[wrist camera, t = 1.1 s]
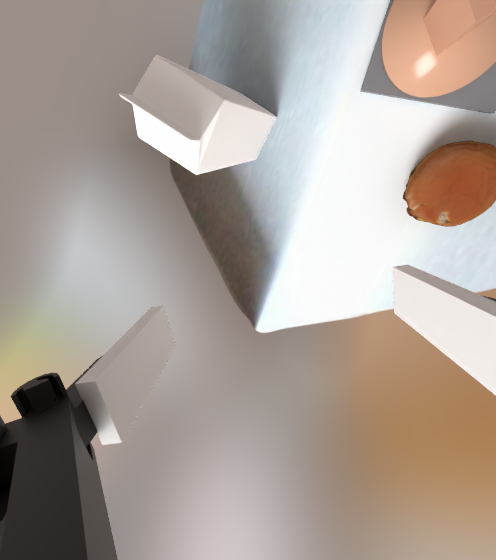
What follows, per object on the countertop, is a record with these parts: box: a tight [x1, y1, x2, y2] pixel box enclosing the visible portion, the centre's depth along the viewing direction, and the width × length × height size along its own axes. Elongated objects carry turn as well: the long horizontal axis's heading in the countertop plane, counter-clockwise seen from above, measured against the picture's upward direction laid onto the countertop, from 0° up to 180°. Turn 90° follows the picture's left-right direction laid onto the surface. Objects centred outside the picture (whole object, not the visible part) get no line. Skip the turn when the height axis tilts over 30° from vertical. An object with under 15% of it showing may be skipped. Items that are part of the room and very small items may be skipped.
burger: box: [403, 141, 496, 227], centre depth 30 cm, size 10×9×5 cm
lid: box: [381, 0, 496, 98], centre depth 21 cm, size 12×12×10 cm
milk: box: [119, 55, 277, 175], centre depth 27 cm, size 6×6×22 cm
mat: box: [361, 0, 496, 113], centre depth 25 cm, size 13×14×1 cm
